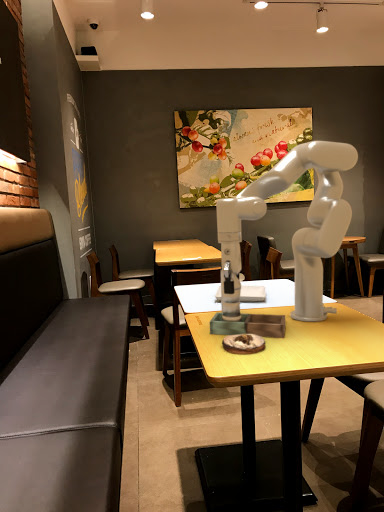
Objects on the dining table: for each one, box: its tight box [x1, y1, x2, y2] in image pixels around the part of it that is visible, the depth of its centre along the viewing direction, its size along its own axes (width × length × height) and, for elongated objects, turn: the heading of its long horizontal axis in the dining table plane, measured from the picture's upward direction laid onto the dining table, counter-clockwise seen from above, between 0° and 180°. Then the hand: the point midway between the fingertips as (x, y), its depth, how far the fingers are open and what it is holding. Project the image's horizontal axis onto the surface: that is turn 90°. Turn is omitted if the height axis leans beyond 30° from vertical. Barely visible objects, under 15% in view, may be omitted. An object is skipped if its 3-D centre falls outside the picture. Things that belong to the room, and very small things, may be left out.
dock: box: [209, 312, 286, 339], centre depth 128 cm, size 23×11×4 cm, turn 75°
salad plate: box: [214, 285, 267, 303], centre depth 174 cm, size 21×21×3 cm
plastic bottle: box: [220, 273, 242, 322], centre depth 129 cm, size 6×7×20 cm
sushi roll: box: [221, 334, 266, 355], centre depth 114 cm, size 15×15×4 cm
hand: (231, 290), depth 128 cm, fingers open, 9 cm apart
